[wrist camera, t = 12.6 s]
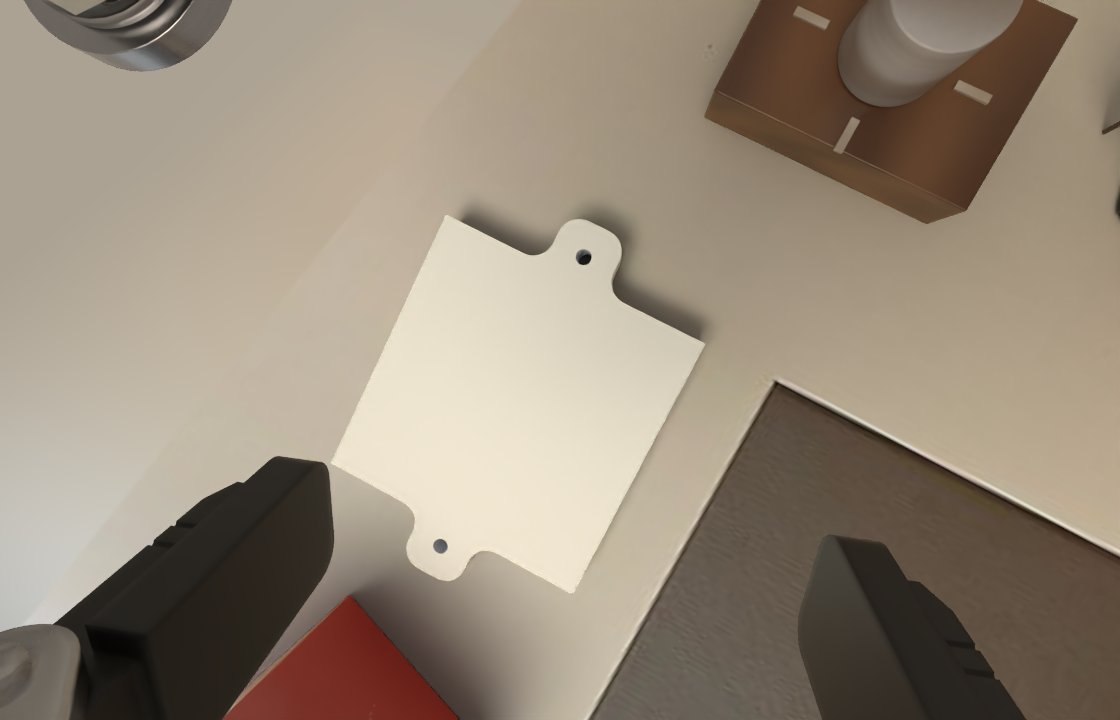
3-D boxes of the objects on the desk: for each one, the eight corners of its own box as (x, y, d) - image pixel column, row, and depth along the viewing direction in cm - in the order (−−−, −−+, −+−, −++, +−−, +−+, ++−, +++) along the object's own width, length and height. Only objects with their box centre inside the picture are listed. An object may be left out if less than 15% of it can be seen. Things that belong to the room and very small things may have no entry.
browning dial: (914, 124, 22) (994, 68, 18) (818, 84, 23) (871, 18, 18) (964, 25, 22) (1060, -60, 17) (866, -14, 22) (933, -108, 17)
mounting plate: (553, 619, 28) (548, 640, 27) (330, 496, 29) (310, 508, 28) (725, 294, 27) (733, 291, 25) (480, 174, 27) (469, 163, 26)
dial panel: (702, 119, 26) (713, 91, 23) (792, -53, 25) (815, -106, 22) (925, 226, 25) (967, 213, 22) (1026, 53, 24) (1084, 13, 21)
